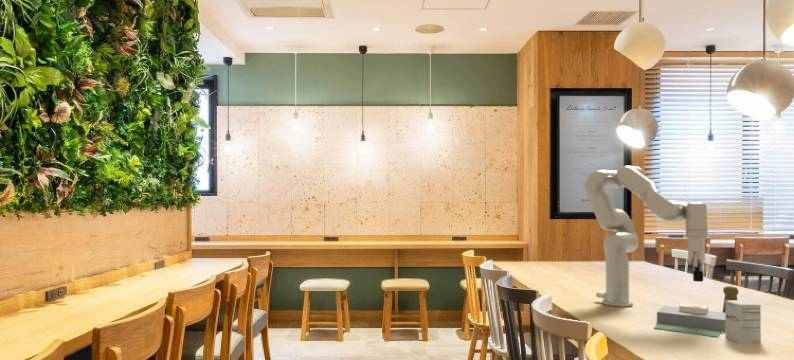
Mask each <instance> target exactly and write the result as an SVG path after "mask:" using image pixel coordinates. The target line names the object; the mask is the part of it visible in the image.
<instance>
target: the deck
mask: <svg viewBox="0 0 794 360" xmlns="http://www.w3.org/2000/svg"><path fill="white" fill-rule="evenodd" d="M722 312H723V311H712V310H708V313H707V314H699V313H690V312H682V311H679V306H678V307H677V306H671V305H670V306H668V305H663V306H662V307H661V308H660V309H658V310H657V312H656V323H657V324H658V323H666V324H674V325H681V326H689V327H696V328H704V329H712V330H719V331H721V332H726V329H725V327H726V324H725V319H726V318H725V313H722Z"/></svg>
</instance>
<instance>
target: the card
mask: <svg viewBox="0 0 794 360" xmlns="http://www.w3.org/2000/svg"><path fill="white" fill-rule="evenodd" d="M678 307H679V311H682V312H690V313H699V314H707V313H708V311H709V306H708V305H700V304H690V303H683V302H682V303H681V304H679V306H678Z"/></svg>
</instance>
